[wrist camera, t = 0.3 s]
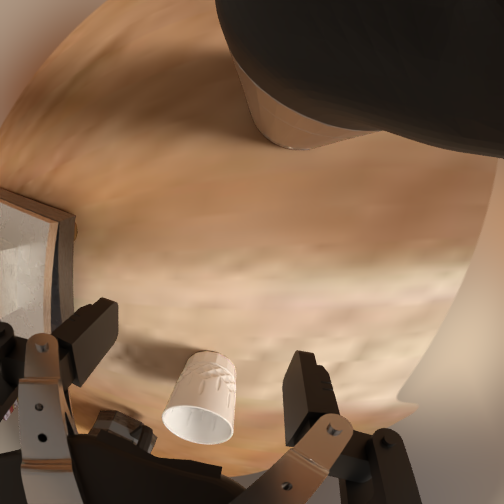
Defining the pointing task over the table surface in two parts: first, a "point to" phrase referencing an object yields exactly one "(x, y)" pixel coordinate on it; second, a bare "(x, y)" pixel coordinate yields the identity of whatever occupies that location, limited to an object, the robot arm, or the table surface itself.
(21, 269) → the plate
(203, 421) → the white cup
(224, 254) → the table surface
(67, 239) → the grey tray
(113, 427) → the mug
